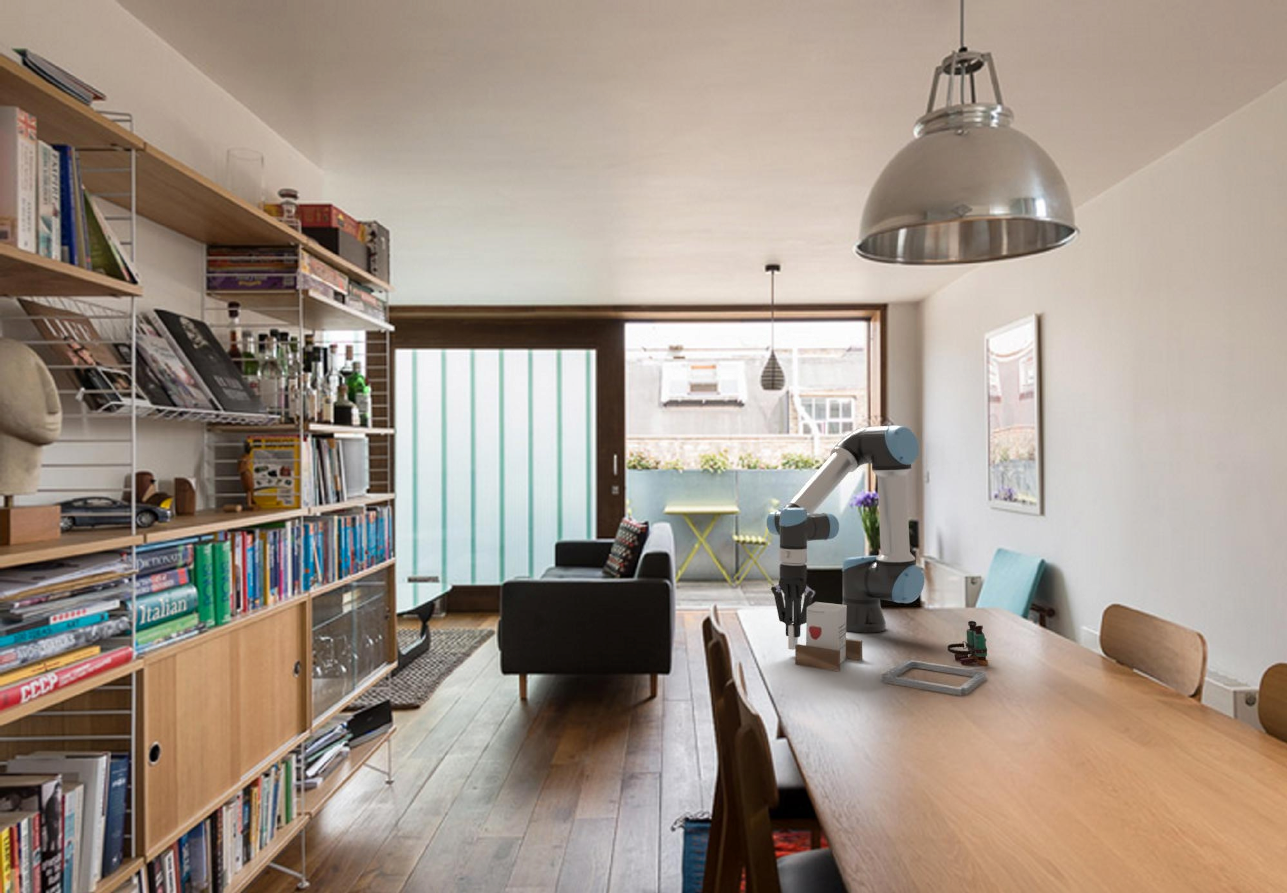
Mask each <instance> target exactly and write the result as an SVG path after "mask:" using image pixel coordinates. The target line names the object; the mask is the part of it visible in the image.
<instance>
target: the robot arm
mask: <svg viewBox="0 0 1287 893" xmlns="http://www.w3.org/2000/svg"><path fill="white" fill-rule="evenodd" d="M919 453H920V446H919V442H918V439H917V436H916V435H915V433H914V432H913V431H912V429H911V428H909V427H907V426H903V425H894V424H892V425H882V426H881V425H880V426H879V425H877V426H876V425H875V426H870V425H869V426H862V427H860V428H858V429H856V430H854V431H852V432H851V433H849V434H847V435H846V436H845V437H843V438H842V439H841V440H840V441H839V442H838V443H837V444H836V445H835V446H834V447H833V448H831V450H830V456H829V457H828V458H827V459H826V460H825V462H823V464H822V465H821V466H820V467H819V468H818V470H817V471H816V472H815V473H814V474H813V475H812V476H811V477H810V478H809V479H808V481H807V482H806V483H804V485H803V486H802V487H801V488H800V489H799V490H798V491H797V493H796V494H795V495H794V496H793V497H792V498H791V499H790V501H789V502H788V503H787V504H786V505H784V507H783V508H782V509H777V510H772V511H771V512H769V513H768V515H767V517H766V527H767V530H768V531H769V533H771V534H772V535H775V536H779V562H780V564H779V580H778V584H776V585H775V586H771V588H770V590H771V592H772V594H773V595H774V601H775V605H776V611H777V616H778V620H779V622H781V623H784V624H785V635H786V637H788V640H787V644H788V645H787V646H788V647H787V648H788V650H795V645H797V644H799V642H798V641H799V640H798V638H800V637H801V626H802V625H804V624H807V607H808V606H809V605H811V604H813V603H812V602H813V598H814V597H815V595H816V594H817V592H816V590H815V589H812V588H810V587H809V583H808V581H807V578H808V566H807V564H806V563H808V542H810V541H813V542H814V541H827V540H832V539H835V537H837V535H838V534H839V531H840V523H839V520H838V518H837V517H836V516H835V515H834V514H833V513H826V512H822V513H815V511H817V509H818V508H819V507H820V506H821V504H823V503H824V501H825V500H827V498H828V497H829V495H830V494H831V493H833V491H834V490H835V488H837V486H839V484H840V483H841V482H842V481H843V480H844V479H845V478H846V477H847V475H848V474H849V473H854V472H855V471H856V470H857V469H858V468H859V467H860V466H862V465H867V464H871V471H872V472H873V473H874V474H876V476H877V477H876V478H877V495H878V496H877V497H878V498H877V499H878V516H879V518H878V519H879V541H880V542H879V543H880V544H879V545H880V553H878V555H861V556H852V557H851V556H850V557H846V558H845V559H843V562H842V569H841V571H842V576H841V577H842V580H841V581H842V604H841V605H847V613H846V632H853V633H866V634H867V633H879V632H884V631H886V629H887V628H886V627H887V624H886V618H885V616H884V613H883V610H882V607H881V600H884V601H891V602H894V603H898V604H900V603H902V604H903V603H904V604H911V603H913V602H914V601H916V600H917V599H919V597H920V595H921V594H922V592H923V590H924V588H925V587H924V585H925V582H926V581H925V580H926V579H925V573H924V571H923V569H922V567H920V566H918V565H916V564H917V563H916V557H915V556H914V555H913V554H912V553H911V552H910V551H911V549H910V529H909V524H910V523H909V506H908V483H907V482H908V479H907V478H908V476H907V475H908V473H909V472H910V471H911V470H912V465H913V463H915V462H916V461H917V460H918V456H919ZM803 595H805V597H804V599H803ZM802 600H803V603H802Z"/></svg>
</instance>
